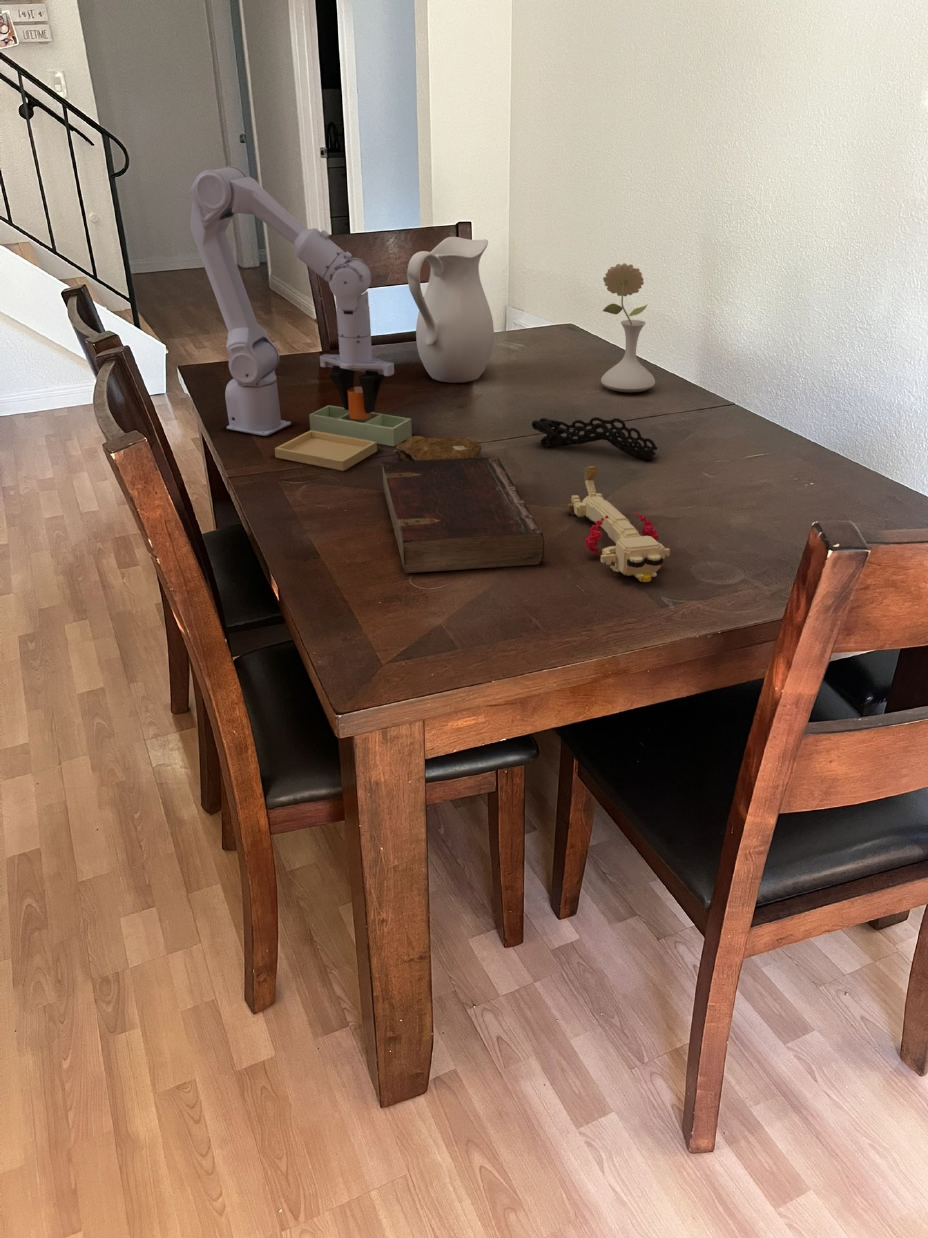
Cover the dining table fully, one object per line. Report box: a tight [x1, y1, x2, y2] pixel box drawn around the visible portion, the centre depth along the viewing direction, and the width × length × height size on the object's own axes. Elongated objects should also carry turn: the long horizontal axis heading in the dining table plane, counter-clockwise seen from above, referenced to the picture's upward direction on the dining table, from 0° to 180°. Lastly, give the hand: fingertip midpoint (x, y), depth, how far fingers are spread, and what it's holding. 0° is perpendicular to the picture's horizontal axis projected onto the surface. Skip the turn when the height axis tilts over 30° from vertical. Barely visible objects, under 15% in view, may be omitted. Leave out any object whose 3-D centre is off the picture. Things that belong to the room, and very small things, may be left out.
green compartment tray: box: [308, 404, 413, 447], centre depth 166 cm, size 18×6×3 cm, turn 63°
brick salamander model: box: [566, 465, 671, 583], centre depth 123 cm, size 10×9×25 cm
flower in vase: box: [600, 262, 656, 393], centre depth 185 cm, size 13×11×25 cm
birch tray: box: [274, 430, 378, 472], centre depth 157 cm, size 14×11×2 cm
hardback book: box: [381, 456, 545, 574], centre depth 131 cm, size 29×19×5 cm, turn 10°
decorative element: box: [531, 416, 658, 461], centre depth 157 cm, size 22×5×6 cm, turn 66°
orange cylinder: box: [347, 386, 371, 420], centre depth 164 cm, size 4×4×5 cm
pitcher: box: [406, 236, 495, 384], centre depth 190 cm, size 24×17×28 cm
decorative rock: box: [393, 435, 483, 461], centre depth 153 cm, size 11×4×15 cm
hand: (359, 409), depth 164 cm, fingers closed on orange cylinder, 4 cm apart
